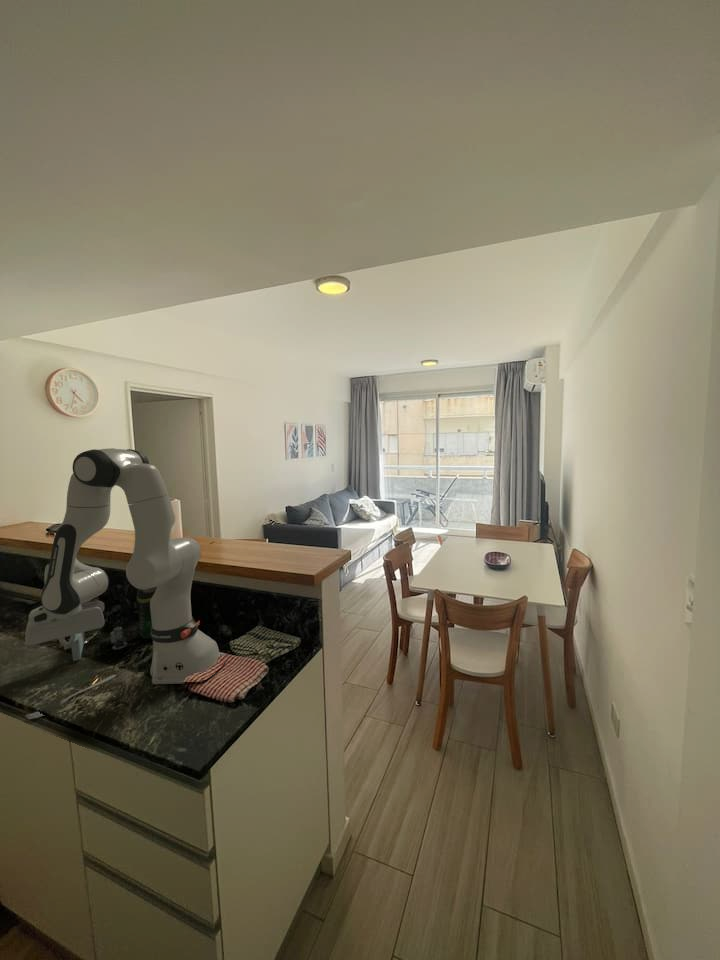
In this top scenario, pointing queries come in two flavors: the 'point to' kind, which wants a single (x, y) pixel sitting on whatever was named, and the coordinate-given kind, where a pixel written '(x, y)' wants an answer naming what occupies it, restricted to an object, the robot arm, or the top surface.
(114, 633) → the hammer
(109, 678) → the fork
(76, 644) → the grey flat block
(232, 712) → the top surface
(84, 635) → the round knob
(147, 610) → the coffee jar
